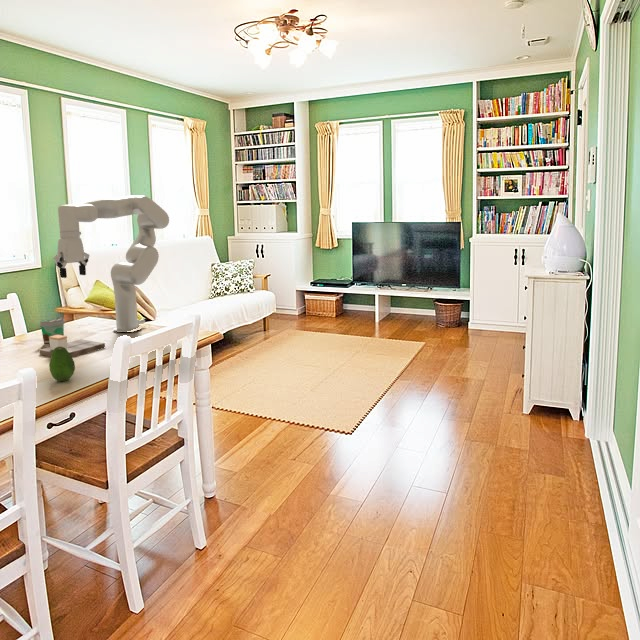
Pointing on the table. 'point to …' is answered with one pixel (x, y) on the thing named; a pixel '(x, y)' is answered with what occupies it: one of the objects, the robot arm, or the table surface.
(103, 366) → the table surface
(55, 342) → the beige small block
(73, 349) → the panel
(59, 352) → the avocado
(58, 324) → the food container
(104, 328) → the table surface
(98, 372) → the table surface
